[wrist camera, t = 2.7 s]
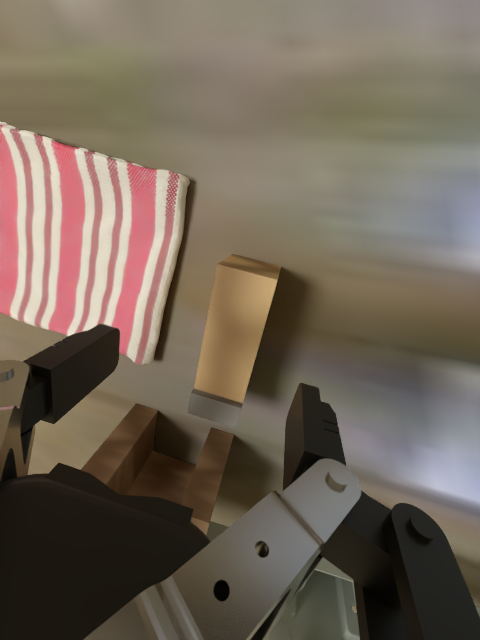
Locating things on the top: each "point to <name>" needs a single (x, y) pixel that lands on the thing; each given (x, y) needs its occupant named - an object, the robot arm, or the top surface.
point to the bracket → (316, 605)
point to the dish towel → (86, 239)
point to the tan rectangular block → (232, 337)
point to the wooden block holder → (160, 466)
